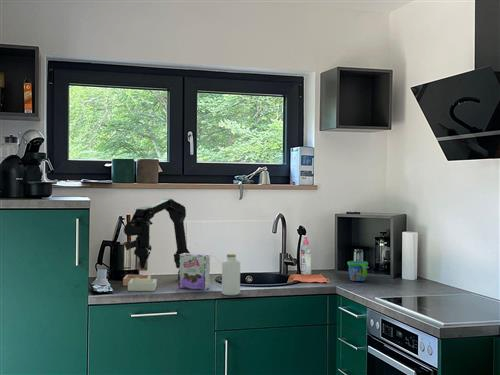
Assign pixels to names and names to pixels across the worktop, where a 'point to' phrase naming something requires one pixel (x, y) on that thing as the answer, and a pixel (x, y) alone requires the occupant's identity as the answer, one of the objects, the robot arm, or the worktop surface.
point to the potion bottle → (231, 275)
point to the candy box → (194, 271)
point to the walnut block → (144, 266)
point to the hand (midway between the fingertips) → (142, 267)
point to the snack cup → (357, 270)
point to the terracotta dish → (129, 277)
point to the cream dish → (142, 285)
